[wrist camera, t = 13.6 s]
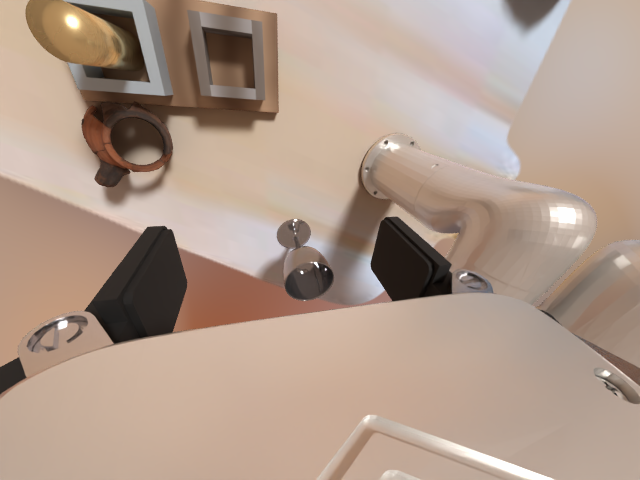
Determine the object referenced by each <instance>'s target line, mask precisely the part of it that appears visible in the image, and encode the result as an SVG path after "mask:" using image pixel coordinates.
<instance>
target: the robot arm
mask: <svg viewBox="0 0 640 480" xmlns="http://www.w3.org/2000/svg"><path fill="white" fill-rule="evenodd" d="M384 141H385V142H384ZM366 167H367V168H366ZM365 168H366V169H365ZM361 178H362V182H363V185H364V187H365V189H366V190H367V191H368V192H369V193H370V194H371V195H372V196H374V197H376V198H379V199H390V200H392V201H393V202H394V203H396V204H397V205H398V206H399V207H401V208H402V209H403V210H405V211H406V212H407V213H408V214H410V215H411V216H412V217H413V218H415V219H416V220H417V221H419V222H420V223H421V224H423V225H424V226H425V227H427V228H428V229H430V230H432V231H435V232H439V233H459V234H458V236H457V238H456V240H455V241H454V243H453V246H452V247H451V249H450V250H449V252H448V254H447V255H446V257H445V258H444V257H443V256H442V255H441V254H439V253H438V252H437V251H436V250H435V249H434V248H433V247H431V246H430V245H429V244H428V243H427V242H426V241H425V240H423V239H422V238H421V237H420V236H419V235H418V234H417V233H416V232H414V231H413V230H412V229H411V228H410V227H409V226H408V225H406V224H405V223H404V222H403V221H402V220H401V219H400V218H398V217H386V218H385V219H384V220H382V221H381V223H380V227H379V231H378V235H377V239H376V244H375V248H374V252H373V256H372V260H371V269H372V271H373V272H374V274H375V275H376V277H377V278H378V280H379V281H380V283H381V284H382V286H383V287H384V289H385V290H386V292H387V293H388V295H389V296H390V298H391V299H392V301H391V302H384V303H377V304H369V305H363V306H355V307H348V308H340V309H333V310H326V311H319V312H311V313H304V314H297V315H290V316H283V317H276V318H269V319H262V320H255V321H248V322H241V323H235V324H227V325H221V326H213V327H206V328H199V329H192V330H186V331H179V332H173V329H174V326H175V323H176V320H177V317H178V314H179V311H180V307H181V304H182V301H183V298H184V295H185V292H186V288H187V279H186V276H185V272H184V270H183V266H182V262H181V258H180V255H179V251H178V248H177V244H176V241H175V237H174V234H173V231H172V230H171V229H167V228H166V227H165V226H154V227H147V228H146V230H145V231H144V232H143V234H142V235H141V236H140V238H139V239H138V240H137V242H136V243H135V244H134V246H133V247H132V249H131V250H130V251H129V252H128V254H127V255H126V256H125V258H124V259H123V260H122V262H121V263H120V264H119V265H118V267H117V268H116V269H115V271H114V272H113V273H112V275H111V276H110V277H109V279H108V280H107V281H106V283H105V284H104V285H103V287H102V288H101V289H100V291H99V292H98V293H97V295H96V296H95V297H94V299H93V300H92V301H91V303H90V304H89V305H88V307H87V308H86V309H85V311H74V312H69V313H65V314H62V315H59V316H56V317H54V318H51V319H49V320H47V321H45V322H44V323H41V324H40V325H38V326H37V327H36V328H34V329H33V330H31V331H30V332H29V333H28V334H27V335H26V336H25V337H24V338H23V339H22V340H21V342H20V344H19V345H18V355H19V358H17V359H15V360H13V361H11V362H9V363H7V364H5V365H4V366H2V367H0V480H640V240H623V241H617V242H613V243H610V244H608V245H606V246H604V247H602V248H601V249H599V250H597V251H596V252H595V253H594V254H592V255H591V256H590V257H588V258H587V259H586V260H585V261H584V262H583V263H582V264H581V265H580V266H578V268H577V269H576V270H574V271H573V272H572V273H571V274H570V275H569V276H568V277H567V278H566V279H565V280H564V281H563V283H562V284H560V286H559V287H558V288H557V289H556V290H555V291H554V292H553V293H552V294H551V295H550V296H549V297H548V298H546V299H545V300H544V301H543V302H542V304H540V305H539V306H537V307H534V306H532V305H533V304H534V303H535V302H536V301H537V300H538V299H539V298H540V297H541V296H542V295H543V294H544V293H546V292H547V291H548V290H549V289H550V288H551V287H552V286H553V285H554V284H555V283H556V282H557V280H559V279H560V277H562V275H564V273H565V272H566V271H567V270H568V269H569V268H570V267H571V266H572V265H573V264H574V263H575V262H576V261H577V260H578V259H579V257H580V256H581V255H582V254H583V253H584V251H585V250H586V248H587V247H588V245H589V244H590V242H591V240H592V239H593V236H594V235H595V231H596V228H597V217H596V213H595V211H594V209H593V208H592V207H591V205H590V204H588V203H587V202H586V201H585V200H584V199H582V198H580V197H578V196H576V195H574V194H572V193H569V192H566V191H564V190H560V189H556V188H552V187H548V186H544V185H538V184H532V183H526V182H521V181H516V180H510V179H506V178H501V177H497V176H493V175H490V174H487V173H484V172H480V171H477V170H474V169H471V168H468V167H466V166H463V165H460V164H457V163H455V162H452V161H449V160H446V159H444V158H441V157H438V156H435V155H433V154H430V153H427V152H424V151H422V150H421V149H420V146H419V144H418V143H417V142H416V140H414V139H413V138H412V137H410V136H408V135H405V134H398V133H395V134H390V135H387V136H385V137H383V138H381V139H380V140H378V141H377V142H376V143H375V144H374V145H373V146H372V147H371V148H370V150H369V151H368V153H367V154H366V156H365V158H364V161H363V164H362V169H361ZM172 332H173V333H172Z"/></svg>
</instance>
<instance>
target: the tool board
mask: <svg viewBox="0 0 640 480" xmlns="http://www.w3.org/2000/svg"><path fill="white" fill-rule="evenodd" d="M146 1H147V2H148V3H149V4H150V5H151V6H153V7H154V8H155V12H156V17H157V22H158V26H159V31H160V35H161V40H162V45H163V49H164V54H165V58H166V63H167V68H168V72H169V77H170V81H171V86H172V91H173V95H167V96H161V95H148V94H134V93H120V92H107V91H93V90H80V92H81V94H82V97H83V99H84V100H89V101H105V102H106V101H110V102H120V103H133V102H134V101H135V102H137V103H139V104H151V105H167V106H183V107H198V108H214V109H229V110H245V111H261V112H276V113H279V106H278V43H277V14H276V13H270V12H265V11H259V10H253V9H247V8H241V7H235V6H229V5H224V4H218V3H212V2H206V1H200V0H146ZM91 14H93V15H95V16H97V17H99V18H101V19H103V20H106V21H108V22H110V23H112V24H114V25H116V26H118V27H120V28H123V29H125V30H127V31H129V32H130V33H132V34H133V35H134V36H135V37H136V38H137V39H138V40H139V36H138V33H137V29H136V25H135V21H134V19H131V18H124V17H117V16H110V15H103V14H96V13H91ZM139 41H140V40H139ZM101 69H102V72H103V75H104V78H107V79H118V80H130V81H142V82H150V79H149V76H148V72H147V68H146V64H145V65H144V67H143V68H142V69H140V70H138V71H126V70H119V69H111V68H104V67H101Z"/></svg>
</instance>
